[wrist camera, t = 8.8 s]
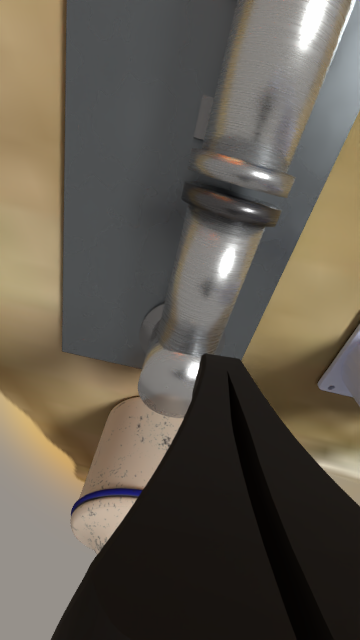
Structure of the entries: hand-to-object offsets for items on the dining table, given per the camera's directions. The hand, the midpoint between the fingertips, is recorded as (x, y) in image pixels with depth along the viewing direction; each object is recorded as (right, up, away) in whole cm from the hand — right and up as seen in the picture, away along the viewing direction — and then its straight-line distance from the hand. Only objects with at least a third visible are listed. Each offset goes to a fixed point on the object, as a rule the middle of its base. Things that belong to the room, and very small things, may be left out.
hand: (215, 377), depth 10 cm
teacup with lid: (-3, -8, +17) cm, 19 cm away
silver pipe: (0, +4, +8) cm, 9 cm away
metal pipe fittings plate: (-1, +9, +7) cm, 11 cm away
